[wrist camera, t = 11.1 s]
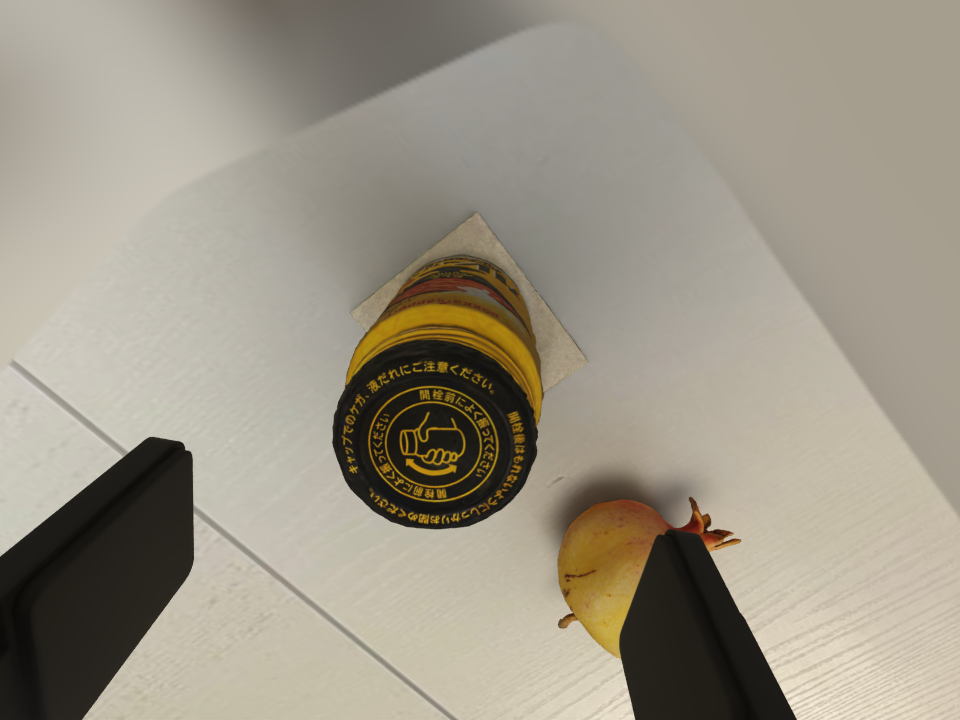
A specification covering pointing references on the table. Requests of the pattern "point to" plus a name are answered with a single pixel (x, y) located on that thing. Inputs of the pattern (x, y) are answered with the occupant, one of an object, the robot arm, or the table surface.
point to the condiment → (449, 385)
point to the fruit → (615, 562)
